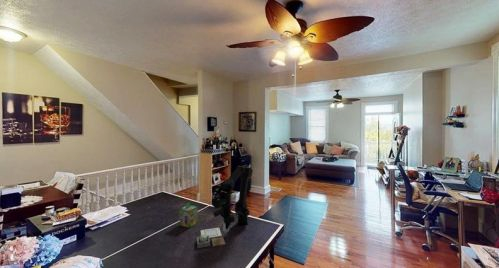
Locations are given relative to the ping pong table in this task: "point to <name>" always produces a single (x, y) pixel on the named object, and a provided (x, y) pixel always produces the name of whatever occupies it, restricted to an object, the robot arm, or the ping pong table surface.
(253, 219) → the ping pong table surface
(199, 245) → the button housing
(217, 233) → the sheet
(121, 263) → the ping pong table surface
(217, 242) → the cork pad
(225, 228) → the chalk stick
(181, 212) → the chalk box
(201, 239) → the button
